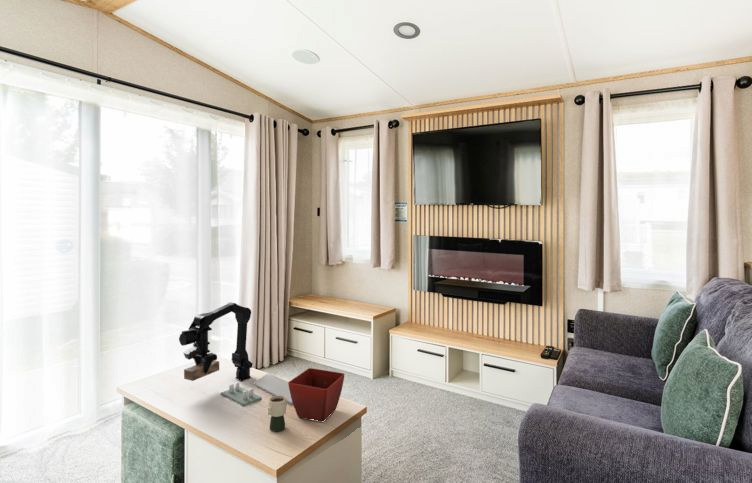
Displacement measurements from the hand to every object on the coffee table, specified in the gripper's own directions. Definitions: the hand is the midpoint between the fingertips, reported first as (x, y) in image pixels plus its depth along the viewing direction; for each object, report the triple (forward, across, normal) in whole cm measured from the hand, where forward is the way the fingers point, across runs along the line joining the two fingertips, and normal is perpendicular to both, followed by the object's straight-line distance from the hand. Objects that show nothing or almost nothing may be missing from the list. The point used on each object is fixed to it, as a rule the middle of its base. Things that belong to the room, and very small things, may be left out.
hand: (202, 371), depth 200 cm
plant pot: (+12, +59, +23) cm, 64 cm away
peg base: (+12, +17, +11) cm, 23 cm away
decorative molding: (+13, +27, +27) cm, 40 cm away
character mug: (+12, +56, +4) cm, 57 cm away
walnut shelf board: (+1, 0, 0) cm, 1 cm away
